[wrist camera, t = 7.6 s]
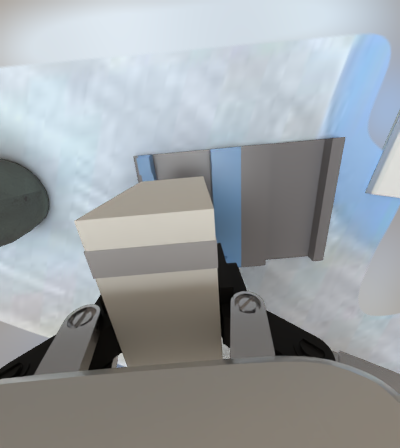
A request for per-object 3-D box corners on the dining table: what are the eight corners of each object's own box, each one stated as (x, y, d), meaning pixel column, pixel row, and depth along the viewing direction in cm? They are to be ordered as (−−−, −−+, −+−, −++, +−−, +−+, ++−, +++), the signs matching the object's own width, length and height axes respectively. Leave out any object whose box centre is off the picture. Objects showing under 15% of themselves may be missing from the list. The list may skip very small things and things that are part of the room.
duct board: (319, 251, 25) (332, 262, 22) (157, 265, 25) (153, 277, 23) (338, 138, 20) (358, 135, 17) (135, 156, 20) (127, 156, 18)
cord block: (212, 297, 15) (225, 404, 9) (164, 301, 16) (142, 411, 9) (203, 175, 12) (214, 208, 5) (140, 181, 12) (72, 221, 5)
